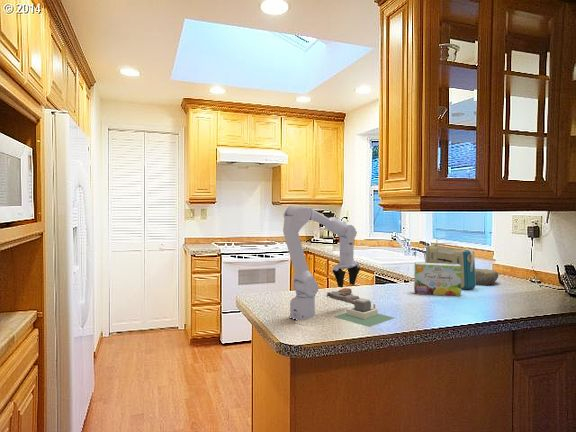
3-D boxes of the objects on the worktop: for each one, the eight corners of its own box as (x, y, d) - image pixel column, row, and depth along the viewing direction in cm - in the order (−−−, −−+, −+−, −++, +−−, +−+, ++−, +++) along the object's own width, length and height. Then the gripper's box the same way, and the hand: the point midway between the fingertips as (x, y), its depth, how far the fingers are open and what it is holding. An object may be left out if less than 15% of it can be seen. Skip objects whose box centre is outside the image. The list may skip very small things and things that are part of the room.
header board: (369, 329, 144) (369, 326, 144) (333, 319, 156) (333, 316, 156) (395, 320, 155) (395, 317, 155) (359, 311, 167) (359, 308, 167)
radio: (423, 280, 232) (423, 237, 231) (433, 279, 235) (434, 236, 234) (465, 290, 205) (466, 241, 204) (476, 289, 208) (477, 241, 207)
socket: (364, 319, 153) (364, 313, 153) (346, 314, 159) (346, 309, 159) (377, 314, 158) (377, 309, 158) (360, 310, 165) (360, 305, 165)
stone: (460, 282, 225) (461, 268, 225) (483, 279, 234) (483, 265, 233) (483, 287, 213) (483, 272, 212) (505, 284, 221) (506, 269, 221)
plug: (363, 317, 155) (363, 301, 155) (354, 314, 159) (354, 299, 159) (370, 315, 158) (370, 299, 158) (361, 312, 162) (361, 297, 161)
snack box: (414, 294, 198) (415, 263, 197) (414, 291, 203) (414, 261, 203) (461, 296, 193) (461, 265, 192) (459, 293, 198) (459, 263, 198)
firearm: (390, 300, 179) (365, 305, 171) (390, 306, 179) (365, 311, 171) (346, 287, 204) (323, 291, 195) (346, 292, 204) (323, 296, 196)
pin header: (374, 314, 160) (374, 304, 160) (363, 311, 164) (363, 301, 164) (377, 313, 161) (377, 303, 161) (365, 310, 165) (365, 301, 165)
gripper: (342, 256, 160) (342, 289, 160) (365, 252, 169) (364, 284, 170) (329, 254, 165) (329, 287, 166) (351, 251, 175) (351, 282, 175)
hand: (346, 285), depth 168 cm, fingers open, 7 cm apart
